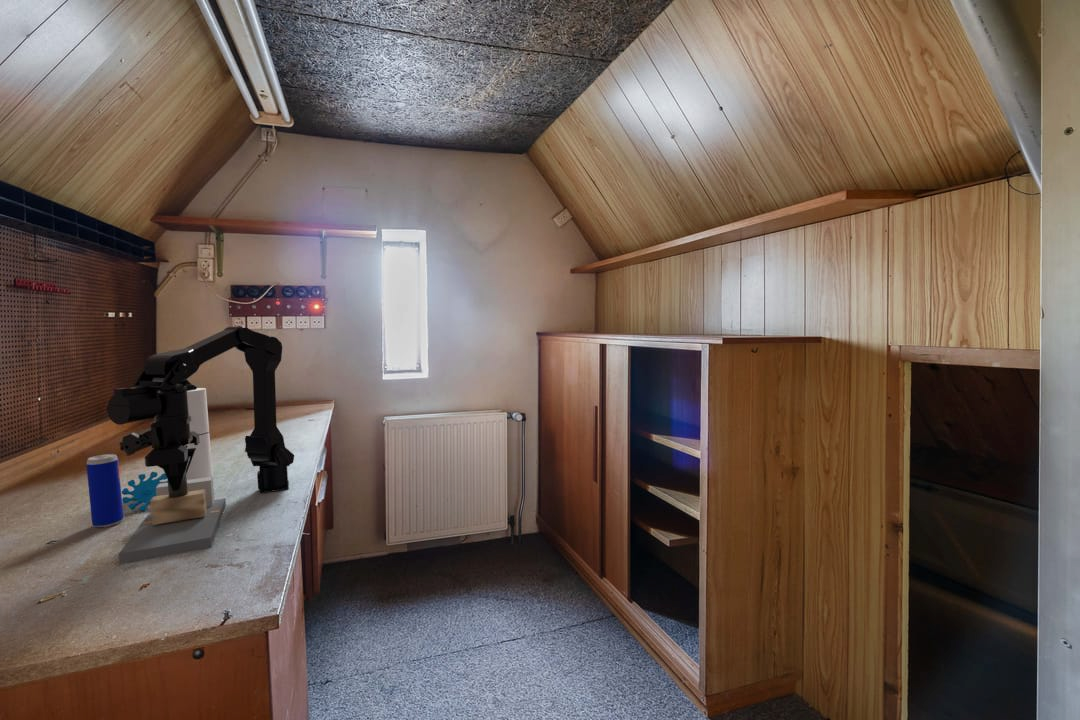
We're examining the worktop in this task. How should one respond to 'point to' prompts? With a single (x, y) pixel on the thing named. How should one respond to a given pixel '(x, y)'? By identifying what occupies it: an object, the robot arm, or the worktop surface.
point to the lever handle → (178, 505)
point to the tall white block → (200, 425)
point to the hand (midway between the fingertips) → (177, 487)
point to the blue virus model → (143, 490)
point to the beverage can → (104, 490)
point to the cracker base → (176, 529)
